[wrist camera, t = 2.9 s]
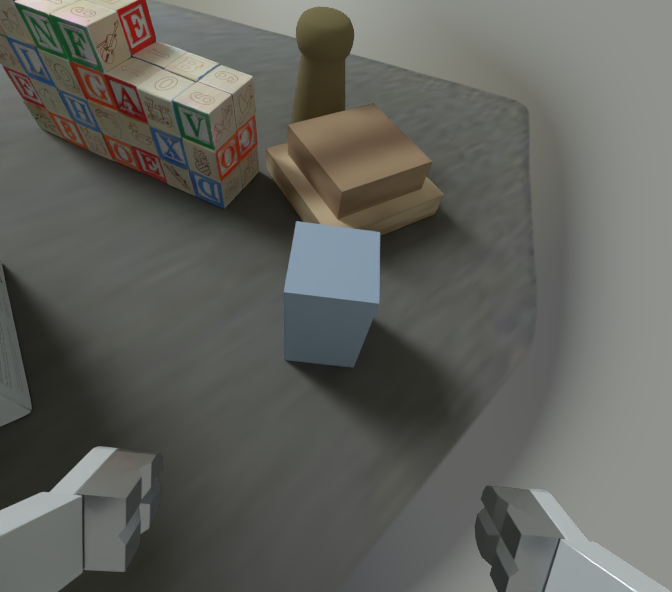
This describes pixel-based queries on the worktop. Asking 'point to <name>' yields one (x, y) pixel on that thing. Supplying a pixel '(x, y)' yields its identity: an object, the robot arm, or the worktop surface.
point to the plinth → (357, 221)
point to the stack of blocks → (132, 93)
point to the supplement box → (10, 364)
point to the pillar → (330, 293)
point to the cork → (321, 62)
